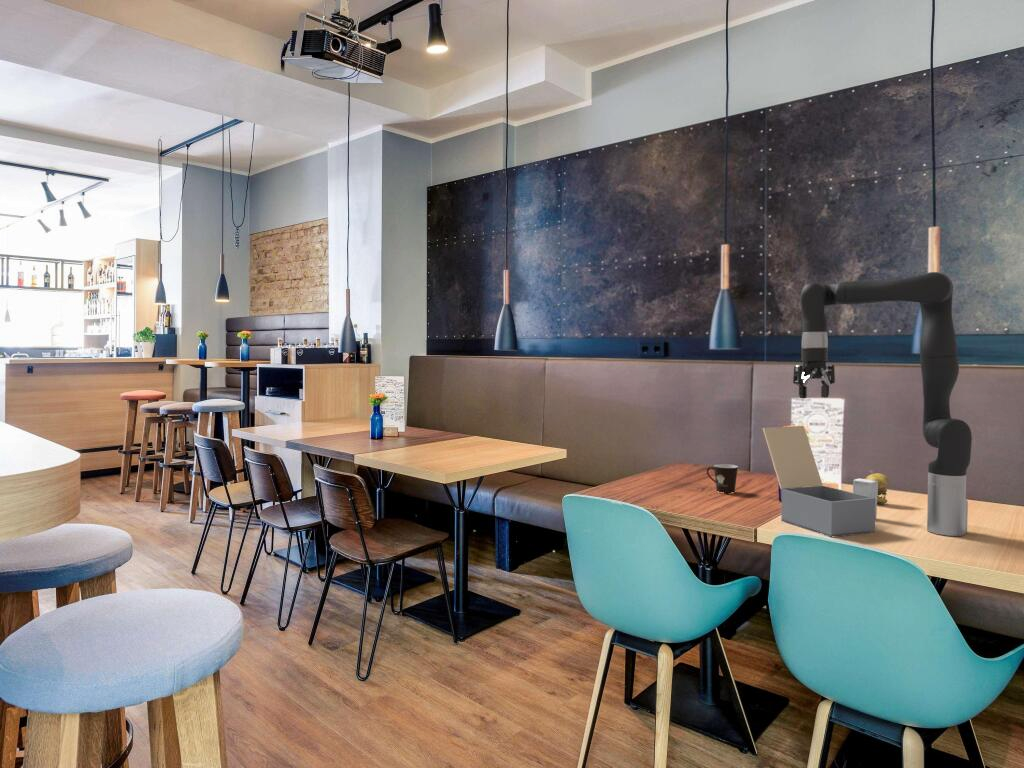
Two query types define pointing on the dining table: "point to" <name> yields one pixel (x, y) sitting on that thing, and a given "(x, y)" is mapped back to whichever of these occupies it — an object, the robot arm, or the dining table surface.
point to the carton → (828, 510)
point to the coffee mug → (724, 477)
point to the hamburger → (879, 485)
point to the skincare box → (866, 489)
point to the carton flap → (792, 457)
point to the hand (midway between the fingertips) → (813, 397)
